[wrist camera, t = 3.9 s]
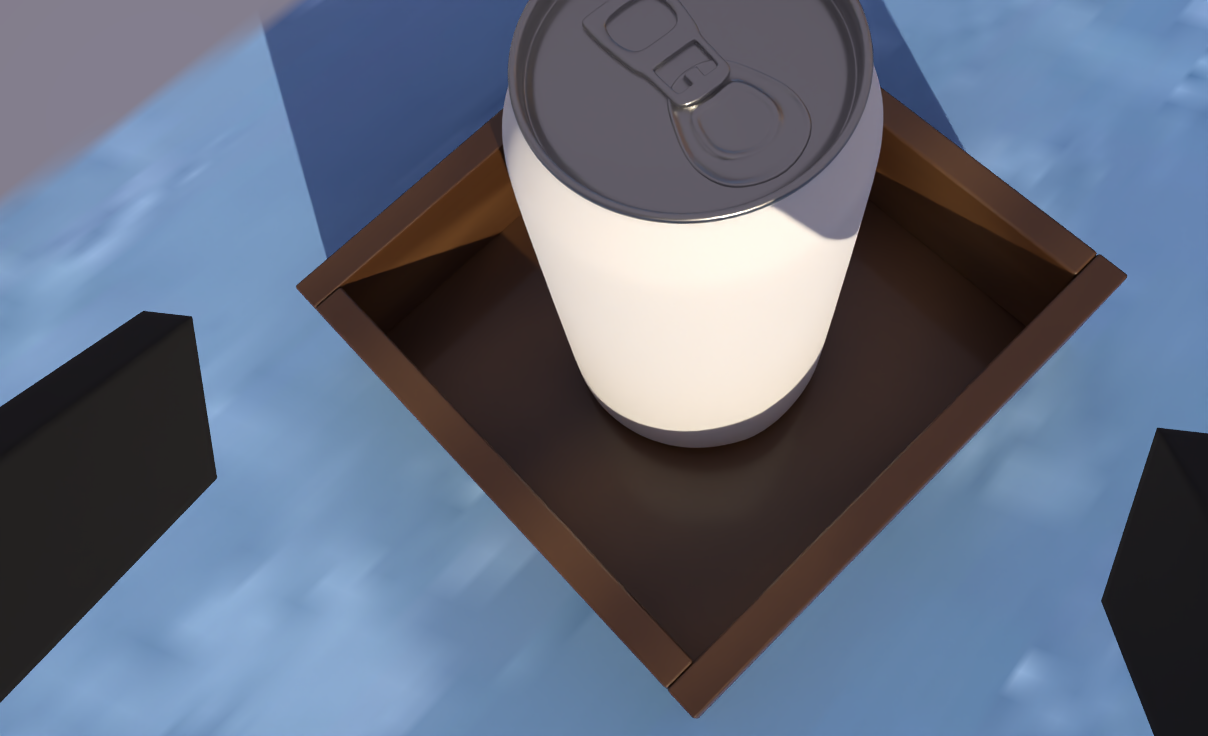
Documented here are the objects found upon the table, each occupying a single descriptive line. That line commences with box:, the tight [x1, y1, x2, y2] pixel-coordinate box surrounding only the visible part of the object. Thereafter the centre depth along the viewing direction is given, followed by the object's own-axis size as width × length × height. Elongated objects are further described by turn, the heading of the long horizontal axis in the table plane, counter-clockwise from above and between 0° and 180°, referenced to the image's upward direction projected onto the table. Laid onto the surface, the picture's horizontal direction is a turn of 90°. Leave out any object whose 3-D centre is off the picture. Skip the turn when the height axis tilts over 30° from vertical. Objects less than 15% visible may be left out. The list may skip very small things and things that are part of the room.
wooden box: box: [296, 87, 1127, 718], centre depth 26 cm, size 14×14×4 cm
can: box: [502, 0, 883, 448], centre depth 21 cm, size 6×6×12 cm
